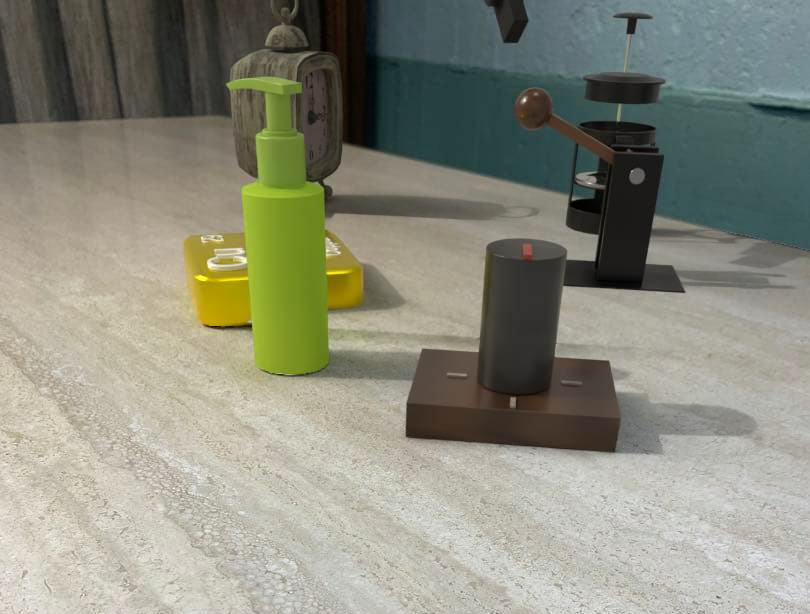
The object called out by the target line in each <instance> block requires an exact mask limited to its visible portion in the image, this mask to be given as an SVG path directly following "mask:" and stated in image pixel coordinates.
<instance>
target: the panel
mask: <svg viewBox="0 0 810 614" xmlns="http://www.w3.org/2000/svg"><path fill="white" fill-rule="evenodd" d="M478 354H479V351H468V350H454V349H439V348H425V347H424V348H422V349H421V351H420V354H419V358H418V361H417V365H416V369H415V372H414V375H413V379H412V382H411V385H410V389H409V392H408V396H407V400H406V403H405V437H409V438H420V439H421V438H422V439H434V440H447V441H449V440H450V441H462V442H475V443H488V444H489V443H490V444H502V445H515V446H516V445H517V446H531V447H544V448H554V449H555V448H557V449H570V450H583V451H595V452H612V453H615V452H616V449H617V445H618V439H619V432H620V429H621V428H620V427H621V421H622V416H621V410H620V406H619V402H618V396H617V392H616V385H615V381H614V376H613V371H612V366H611V362H610V360H608V359H607V360H605V359H594V358H593V359H591V358H578V357H577V358H575V357H561V356H554V365H553V373H552V381H551V385H550V386H549V387H548V388H547V389H545V390H543V391H541V392H537V393H532V394H506V393H501V392H497V391H493V390H490V389H488V388H486V387H484V386H483V385H481V384H480V383H479V382H478V380H477V368H478Z"/></svg>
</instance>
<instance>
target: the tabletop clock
mask: <svg viewBox="0 0 810 614" xmlns="http://www.w3.org/2000/svg"><path fill="white" fill-rule="evenodd" d="M275 2H276V0H270V8H271V12H272V15H273V16H274V18H275V19H276V20H277V21H278V22H280V23H281V24H280V25H277V26H274V27H273V28H271V29H270V31H269V32H268V35H267V37H266V40H265V46H266V47H273V48H274V49H273V48H263V49H260V50H257V51H253V52H251V53H248V54H247V55H246V56H244V57H242V58H241V59H239V60H238V61H236V62H235V63H234V64H233V65H232V66H231V68H230V75H229V76H230V77H229V82H231V81H235V80H239V79H247V78H256V77H277V78H282V79H287V80H291V81H295V82H299V83H301V84H302V93H296V94H290V100H291V121H292V128H295V129H297V132H299V133H302V134H303V135H304V139H305V164H306V181H308V182H312V183H317V184H318V185H321V186H322V187H323V188H324V199H326V198H328V199H329V198H330V197H332V196H333V194H334V193H333V192H334V190H333V187H332V186H331V185H330V184H325V182H324V180H326V179H327V178H329V177H330V176H331V175H333V174H335V172H336V171H337V170H338V169H339V168H340V165H341V164H342V155H343V139H344V104H343V103H344V102H343V101H344V100H343V82H342V71H341V64H340V63H341V62H340V58H339V57H338V56H337V55H336V54H335V53H334V52H331V51H314V50H313V51H312V50H311V51H310V50H297V49H296V50H292V48H305V47H309V42H308V38H307V37H306V35H305V33H304V32H303V30H302V29H301V28H300V27H297V26H295V25H292V24H291V22H292V21H293V20H294V19H295V18H296V17H297V14H298V11H299V4H300V2H299V0H294V7H293V10H292V12H291V11H290V9H289V7H282V8H281V9H280V13H279V12H278V10H277V9H276V3H275ZM275 48H283V49H275ZM229 93H230V94H229V95H230V111H231V125H232V133H233V143H234V151H235V157H236V162H237V165H238V167H239V168H240V169H241V170H242V171H244V172H245V173H246V174H247V175H248V176H250V177H252V178H254V179H258V166H257V152H256V134H258V133H260V132H262V129H264V128H267V116H266V100H265V91H261V90H256V89H249V88H247V89H238V90H229Z"/></svg>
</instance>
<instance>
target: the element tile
mask: <svg viewBox="0 0 810 614" xmlns="http://www.w3.org/2000/svg"><path fill="white" fill-rule="evenodd" d="M325 239H326V273H327V306H328V310H338V309H349V308H354V307H358V306H360V305H362V304H363V303H364V266H363V264H362V263H361V262H360V260H359V259H358V258H357V257H356V256H355V255H354V254H353V252H352V251H351V250H350V249H349V248H348V247H347V246H346V244H345V243H344V242H343V241H342V240H341V239H340V238H339V237H338V235H337V234H335V233H334V232H332V231H331V230H328V229H326V228H325ZM182 251H183V258H184V267H185V277H186V283H187V287H188V290H189V292H190V293H189V294H190V296H191V300H192V304H193V307H194V311H195V314H196V318H197V320H198V321H199V323H201V324H202V323H203V324H202V325H204V324H206V325H209V326H208V327H210V326H221V327H220V328H226V327H225V326H234V327H244V326H243V325H247V326H252V322H250V320H251V319H252V317H251V305H250V292H249V280H248V267H247V255H246V242H245V232H230V233H211V234H209V233H208V234H196V235H194V234H193V235H190V236H188V237H186V239H185V240H183V242H182ZM206 325H205V326H206Z"/></svg>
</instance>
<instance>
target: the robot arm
mask: <svg viewBox="0 0 810 614" xmlns="http://www.w3.org/2000/svg"><path fill="white" fill-rule="evenodd" d="M524 1H525V0H484V4H486V6H487V7H489V8H490V7H493V12H494V14H495V19H496V21H497V25H498V29H499V33H500V37H501V40H502V43H503V44H518V43H519V42H520V39H521V37H522V36H523V33H524V32H525V30H526V27H527V26H528V24H529V22H530V20H529V16H528V13H527V10H526V9H527V8H526V6H525V3H524Z"/></svg>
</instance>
